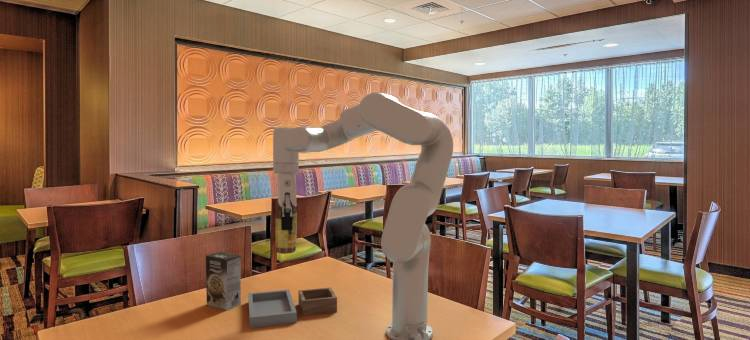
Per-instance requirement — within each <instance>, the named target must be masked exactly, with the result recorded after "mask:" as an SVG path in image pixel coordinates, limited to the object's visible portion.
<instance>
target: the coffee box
mask: <svg viewBox="0 0 750 340" xmlns="http://www.w3.org/2000/svg"><path fill="white" fill-rule="evenodd" d="M241 256H242V255H241V254H235V253H229V252H225V251H224V252H223V251H218V252H214V253H210V254H206V255H205V277H206V279H205V281H206V282H205V284H206V291H205V292H206V306H209V307H212V308H216V309H220V310H223V311H230V310H231V309H233V308H235V307H238V306H240V305H241V304H242V301H241V299H242V297H241V296H242V290H241V289H242V286H241V284H242V283H241V279H242V278H241V277H242V275H241V269H242V267H241V266H242V265H241V262H242V261H241Z"/></svg>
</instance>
